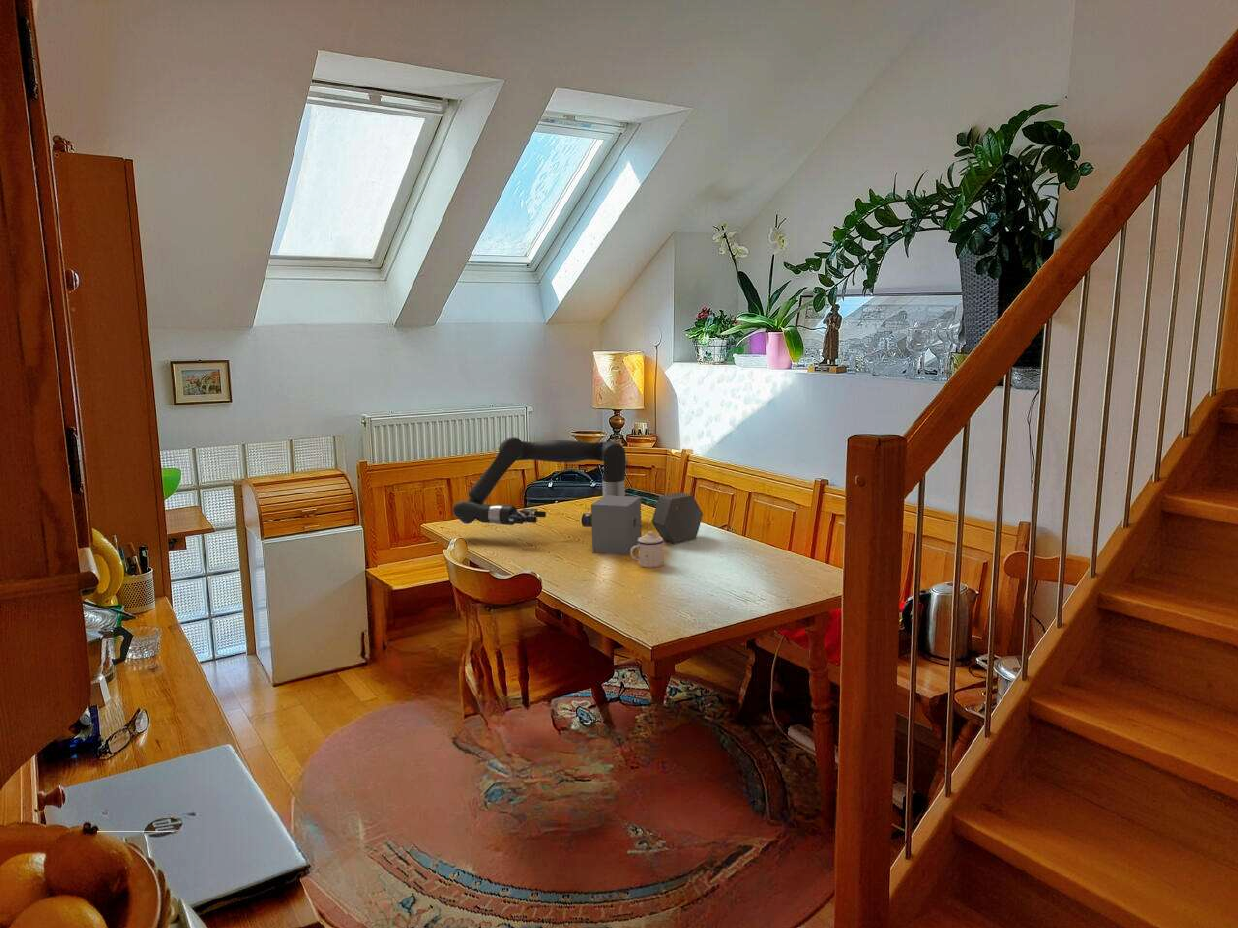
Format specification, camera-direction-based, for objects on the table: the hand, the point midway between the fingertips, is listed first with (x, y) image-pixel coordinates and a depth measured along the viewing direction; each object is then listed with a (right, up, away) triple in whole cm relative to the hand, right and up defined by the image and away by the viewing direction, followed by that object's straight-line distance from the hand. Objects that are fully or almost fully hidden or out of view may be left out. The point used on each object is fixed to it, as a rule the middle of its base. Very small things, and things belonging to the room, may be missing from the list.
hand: (541, 517), depth 328 cm
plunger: (+26, -3, -8) cm, 27 cm away
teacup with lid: (+40, -15, -30) cm, 52 cm away
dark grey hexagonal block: (+52, -9, +1) cm, 53 cm away
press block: (+29, -11, -8) cm, 32 cm away
